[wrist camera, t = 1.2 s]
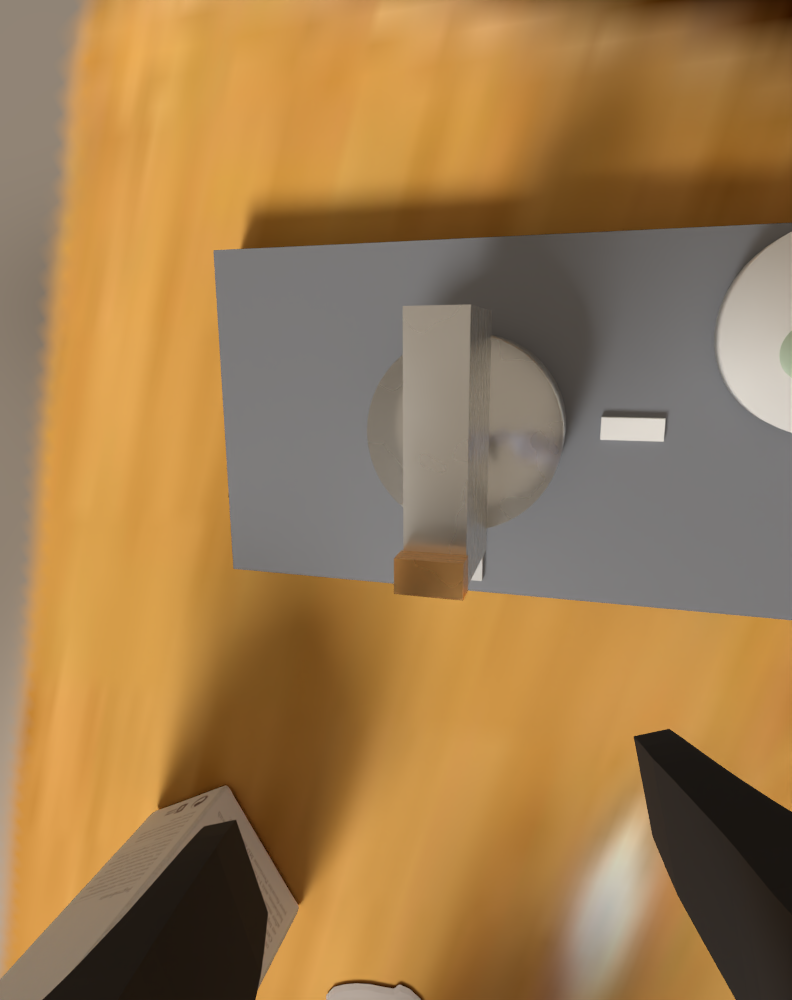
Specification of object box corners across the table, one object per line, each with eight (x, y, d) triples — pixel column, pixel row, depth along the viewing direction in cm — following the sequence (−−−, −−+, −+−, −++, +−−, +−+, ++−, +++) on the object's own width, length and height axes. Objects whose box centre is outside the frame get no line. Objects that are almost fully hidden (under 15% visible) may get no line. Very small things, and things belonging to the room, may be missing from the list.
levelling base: (984, 223, 16) (1072, 196, 13) (916, 611, 19) (977, 663, 16) (238, 256, 22) (181, 242, 19) (254, 555, 24) (206, 585, 21)
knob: (387, 315, 19) (309, 306, 14) (571, 312, 18) (562, 300, 12) (389, 523, 20) (318, 586, 15) (560, 534, 19) (547, 608, 14)
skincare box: (152, 809, 28) (-144, 1122, 17) (230, 779, 26) (-37, 1101, 15) (224, 932, 28) (-18, 1319, 17) (305, 910, 27) (98, 1316, 16)
